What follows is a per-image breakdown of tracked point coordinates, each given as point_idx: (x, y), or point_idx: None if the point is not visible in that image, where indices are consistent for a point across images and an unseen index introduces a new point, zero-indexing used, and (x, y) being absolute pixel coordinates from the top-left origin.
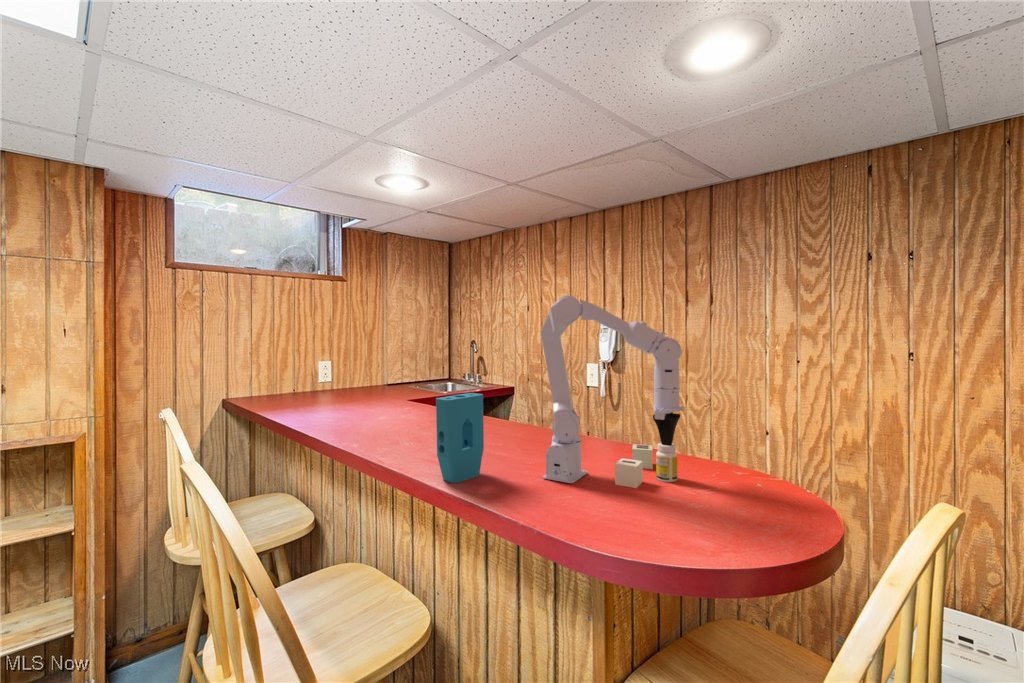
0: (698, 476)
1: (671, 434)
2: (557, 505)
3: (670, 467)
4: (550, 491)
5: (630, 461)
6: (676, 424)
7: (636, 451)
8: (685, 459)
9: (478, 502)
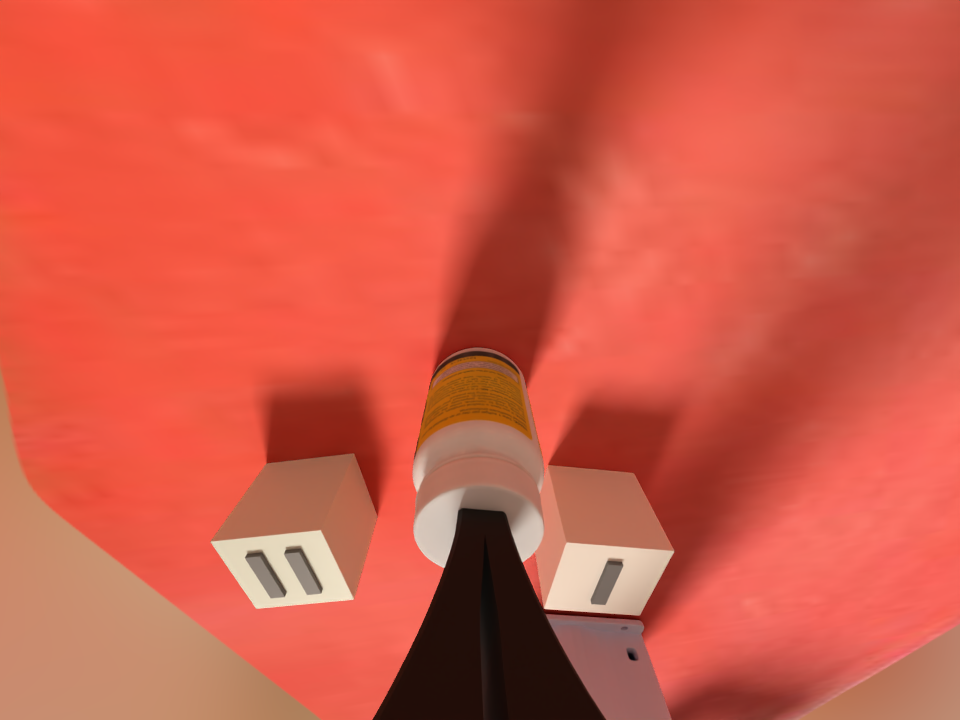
0: (354, 247)
1: (539, 605)
2: (824, 609)
3: (529, 411)
4: (712, 640)
5: (606, 581)
6: (408, 699)
7: (351, 575)
8: (61, 333)
9: (805, 710)
